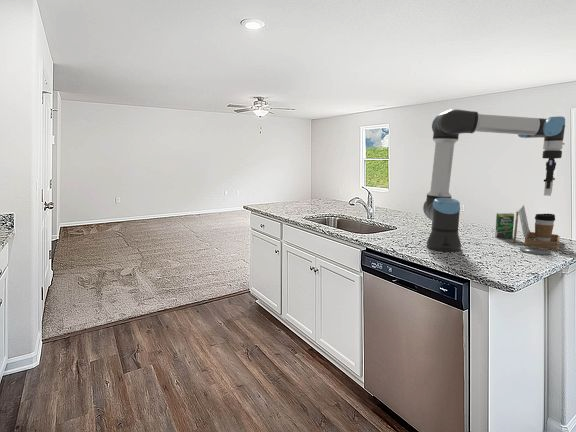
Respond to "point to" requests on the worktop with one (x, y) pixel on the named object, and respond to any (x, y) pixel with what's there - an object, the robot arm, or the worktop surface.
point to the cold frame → (533, 234)
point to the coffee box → (504, 225)
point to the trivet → (535, 250)
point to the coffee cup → (544, 226)
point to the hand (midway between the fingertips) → (547, 194)
